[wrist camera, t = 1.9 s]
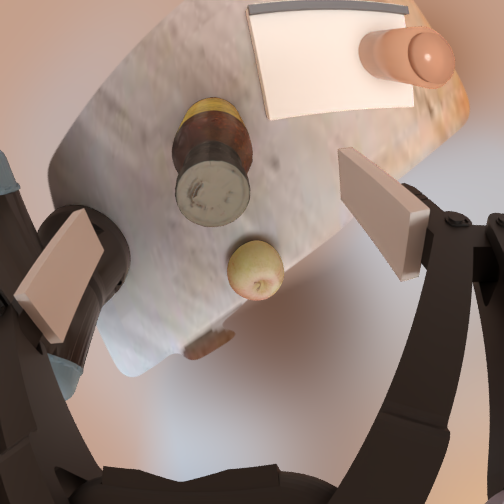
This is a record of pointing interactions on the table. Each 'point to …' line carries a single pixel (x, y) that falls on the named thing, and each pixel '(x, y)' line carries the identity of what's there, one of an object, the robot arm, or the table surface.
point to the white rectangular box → (321, 56)
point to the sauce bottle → (212, 163)
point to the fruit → (255, 270)
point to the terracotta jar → (408, 56)
